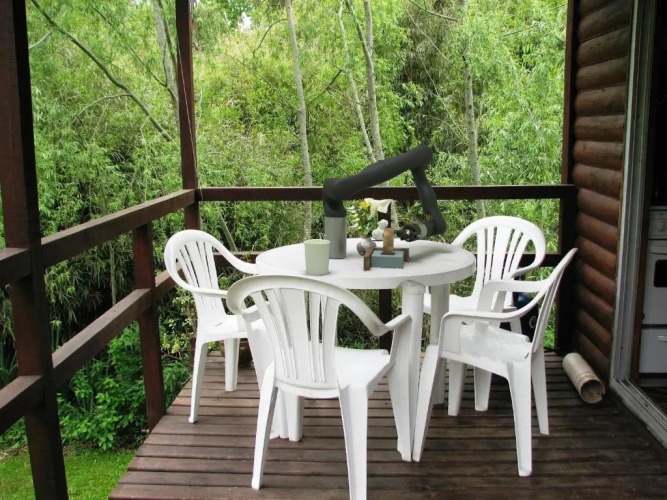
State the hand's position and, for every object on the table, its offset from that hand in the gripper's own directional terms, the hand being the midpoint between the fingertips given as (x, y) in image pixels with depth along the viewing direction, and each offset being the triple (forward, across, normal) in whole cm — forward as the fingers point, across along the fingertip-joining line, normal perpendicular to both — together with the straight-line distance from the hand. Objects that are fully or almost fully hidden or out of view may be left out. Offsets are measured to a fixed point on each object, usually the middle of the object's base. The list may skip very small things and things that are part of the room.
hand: (392, 236), depth 262 cm
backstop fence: (+4, +1, +11) cm, 12 cm away
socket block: (+3, 0, +11) cm, 12 cm away
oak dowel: (+3, 0, +10) cm, 11 cm away
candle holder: (+32, -12, +11) cm, 36 cm away
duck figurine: (-43, -36, +11) cm, 57 cm away
